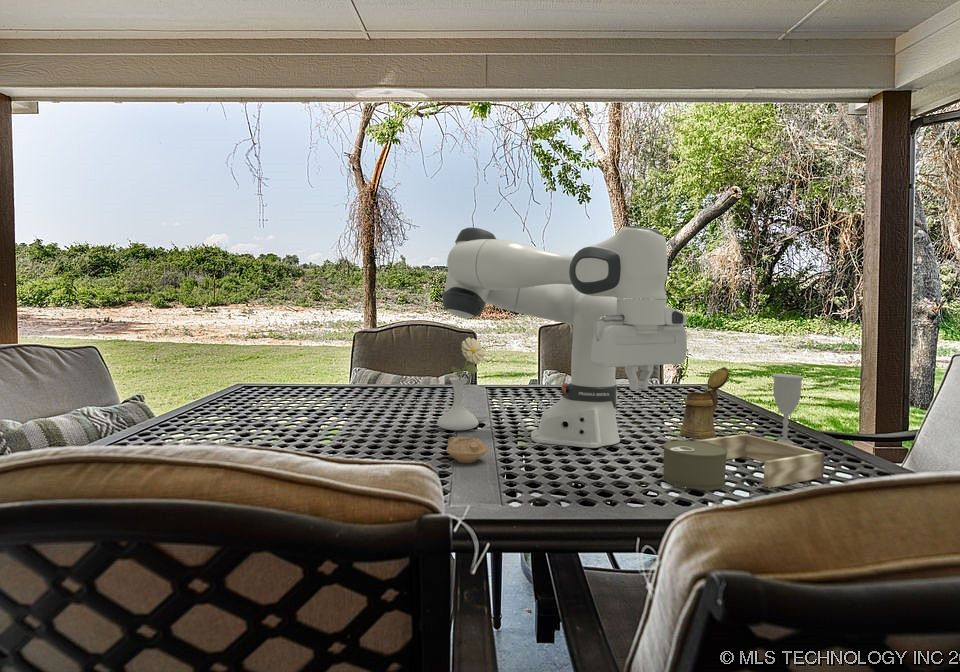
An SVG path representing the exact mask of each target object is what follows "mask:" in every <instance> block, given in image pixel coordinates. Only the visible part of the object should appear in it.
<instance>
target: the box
mask: <svg viewBox="0 0 960 672" xmlns="http://www.w3.org/2000/svg"><path fill="white" fill-rule="evenodd" d="M695 441H700V442H707V443H712V444H716V445H719V446H722V447H724V448H726V449H727V456H726V461H727V460H732V459H738V458H740V459H741V458H748V459H752V460H756V461H759V462H763V463H764V464H763V468H764V469H763V485H762V486H765V487H764V488H766V487H768V488H767V489H771V487H772V488H775V487H781V486H785V485H791V484H796V483H800V482H806V481H811V480H815V479H822V478H824V469H825V452H821V451H817V450H813V449H808V448H804V447H801V446H796V445H794V444H793V445H794V446H793V445H789V444H785V443H781V442H776V441H777V440H776V441H775V440H771V439H767V438H763V437H759V436H755V435H752V434H746V433H741V434H734V435H727V436H720V437H714V438H710V439H697V440H696V439H695Z"/></svg>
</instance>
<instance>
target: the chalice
mask: <svg viewBox="0 0 960 672" xmlns="http://www.w3.org/2000/svg"><path fill="white" fill-rule="evenodd" d="M772 377H773V394H772V395H773V397H774V401H775V404H776V407H777V408H778V411H779V413H781V414H782V415H783V420H782V421H781V423H782V425H783V427H782V428H781V431H782V437H781V438H780V439H777V440H776V442H781V443H785V444H789V445H793V446H795V445H794V442H793V440H790V439H789V437H788V433H789V431H790V429H789V427H788V425H789V423H790V421H789V415H791V414H793V412H794V411H795V409H796V408H797V406H798V405H799V402H800V400H801V395H802V381H803V379H804V376H803V375H797V374H787V373H773V374H772Z"/></svg>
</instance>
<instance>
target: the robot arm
mask: <svg viewBox="0 0 960 672" xmlns="http://www.w3.org/2000/svg"><path fill="white" fill-rule="evenodd" d="M454 243H455V244H454V246H453V247H452V248H451V250H450V251H449V253H448V255H447V260H446V262H447V264H446V265H447V273H446V277H445V278H446V279H445V286H444V291H443V292H442V306H443V307H444V310H446V311H447V312H448V313H450V314H451V315H453V316H455V317H457V318H461V319H462V318H463V319H470V318H476V317H478V316H480V315H481V314H482V312H483V311H484V309H485V306H486V304H489V305H491V306H494V307H496V308H499V309H502V310H505V311H509V312H513V313H517V314H521V315H526V316H531V317H535V318H539V319H543V320H548V321H549V320H550V321H554V322H558V323H563V324H566V325H572V326H573V329H572V345H571V365H570V366H571V370H570V371H571V372H570V383H568V382H563V383H562V384H561V387H560V388H561V391H562V398H561V399H560V400H558V401H556V402H555V403H554V404H553V405H551V406H550V407H549V408H547V409H545V411H544V412H543V414H541V417H540V421H539V427H537V428H534V429H533V430H532V431H530V439H531V440H532V441H533V442H535V443H539V444H548V445H550V444H551V445H559V446H569V447H570V446H571V447H578V448H589V449H595V448H596V449H597V448H600V447H603V446H604V447H605V446H611V445H615V444H619V443H620V442H621V438H620V435H619V430H618V429H619V428H618V425H617V424H618V423H617V413H616V407H617V405H618V389H617V388H618V386H617V385H616V371H617V368H620V367H621V368H622V367H624V372H625V374H626V377H627V380H628V382H629V383H628V384H629V385H628V386H629V387H628V388H629V390H630V391H645V390H648V388H649V380H650V378H651V376H652V374H653V372H654V366H657V365H658V366H660V365H661V366H662V365H664V366H665V365H679V364H680V365H681V364H683V363H684V361H685V360H686V358H687V350H688V349H687V347H688V344H687V343H688V341H687V340H688V338H687V337H688V336H687V335H688V334H687V330H686V328H685V327H684V326H685V325H686V324H687V321H688V316H687V314H686V313H684V312H682V311H680V310H678V309H677V308H673V307H671V306H669V305H667V294H666V288H665V285H666V280H667V277H668V247H667V241H666V237H665V235H664V234H663V233H662V232H661V231H660V230H659V229H655V228H652V227H651V228H649V227H646V226H639V225H627V226H624V227H622V228H621V229H620V230H619V231H618V232H617V233H616V234H615V235H613V236H611V237H609V238H607V239H606V240H603V241H601V242H598V243H596V244H592V245H590V246H585V247H582V248H581V249H580V250H578V251H577V252H576V253H575V254H574V255H569V254H559V253H553V252H550V251H546V250H543V249H539V248H536V247H533V246H529V245H527V244H524V243H519V242H515V241H510V240H506V239H499V238H497V237H496V236H495V234H494V233H492V232H490V231H488V230H486V229H485V228H480V227H465V228H464V229H461V231H460V232H459V233H458V235H457V236H456V239H455V241H454ZM639 370H640V372H641V373H640V375H639V377H638V375H637V372H639Z"/></svg>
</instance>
